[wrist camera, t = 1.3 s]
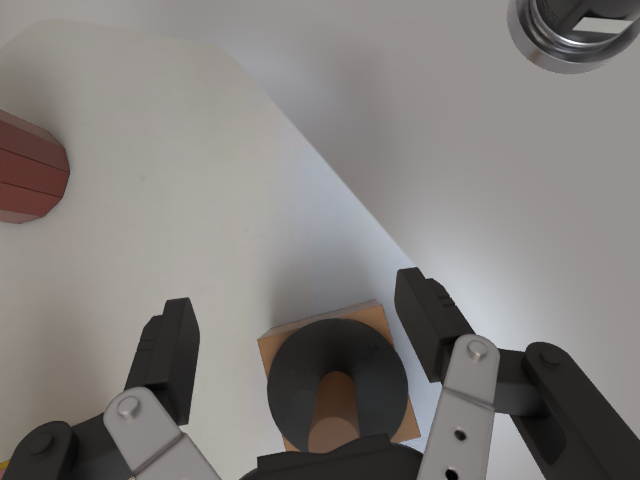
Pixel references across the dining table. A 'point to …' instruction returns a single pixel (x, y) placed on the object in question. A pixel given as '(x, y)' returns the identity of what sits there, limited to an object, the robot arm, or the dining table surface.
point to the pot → (29, 170)
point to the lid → (336, 385)
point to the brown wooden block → (361, 312)
